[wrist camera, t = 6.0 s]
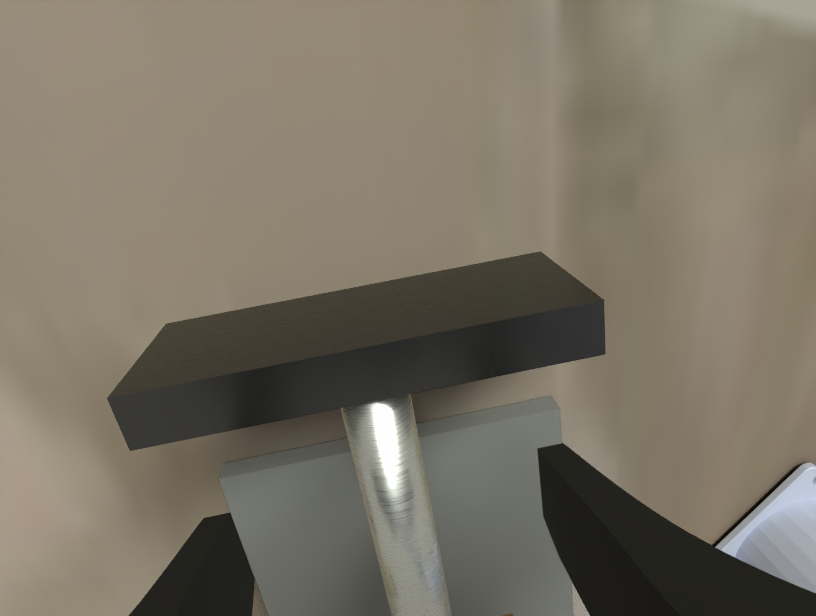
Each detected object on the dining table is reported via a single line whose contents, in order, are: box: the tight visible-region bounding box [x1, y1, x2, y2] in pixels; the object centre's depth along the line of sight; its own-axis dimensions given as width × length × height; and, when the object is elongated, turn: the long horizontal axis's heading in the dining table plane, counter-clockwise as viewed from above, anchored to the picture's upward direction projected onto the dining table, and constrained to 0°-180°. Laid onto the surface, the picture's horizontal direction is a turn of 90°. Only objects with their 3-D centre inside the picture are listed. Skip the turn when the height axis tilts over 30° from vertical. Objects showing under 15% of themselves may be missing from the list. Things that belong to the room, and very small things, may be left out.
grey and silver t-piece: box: [107, 252, 605, 616], centre depth 19 cm, size 22×12×4 cm, turn 9°
